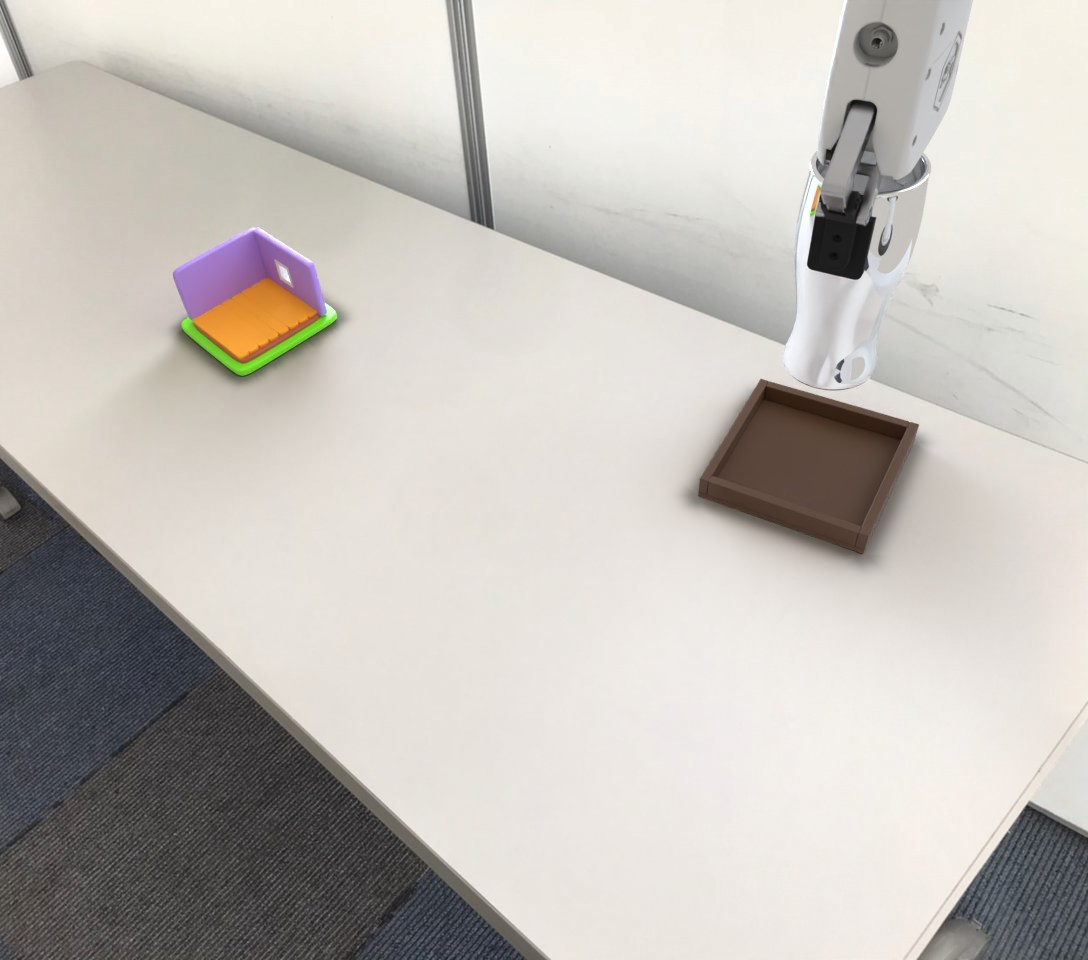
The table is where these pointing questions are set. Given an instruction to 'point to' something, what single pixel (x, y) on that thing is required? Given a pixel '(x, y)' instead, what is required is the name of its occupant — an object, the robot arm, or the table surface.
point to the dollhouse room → (251, 300)
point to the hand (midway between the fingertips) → (855, 235)
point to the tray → (809, 464)
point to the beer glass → (851, 282)
